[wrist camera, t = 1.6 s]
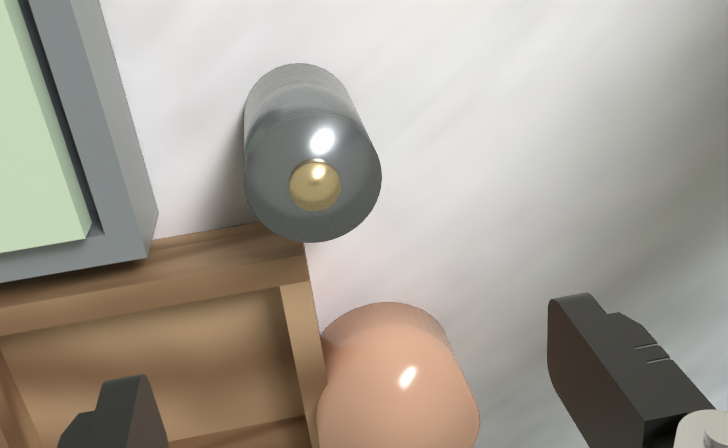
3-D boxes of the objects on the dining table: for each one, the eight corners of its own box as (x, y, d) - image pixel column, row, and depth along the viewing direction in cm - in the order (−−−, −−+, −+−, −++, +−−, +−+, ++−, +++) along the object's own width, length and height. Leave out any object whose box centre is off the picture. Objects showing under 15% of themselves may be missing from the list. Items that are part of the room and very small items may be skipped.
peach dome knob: (445, 290, 33) (476, 355, 28) (453, 402, 36) (482, 476, 32) (299, 317, 32) (307, 387, 28) (320, 428, 35) (331, 507, 31)
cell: (346, 55, 27) (376, 110, 21) (359, 159, 29) (390, 237, 23) (234, 72, 27) (231, 133, 21) (255, 176, 29) (258, 260, 23)
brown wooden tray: (-52, 274, 29) (-87, 323, 26) (298, 215, 30) (305, 254, 27) (39, 471, 34) (19, 531, 31) (333, 414, 35) (342, 466, 32)
